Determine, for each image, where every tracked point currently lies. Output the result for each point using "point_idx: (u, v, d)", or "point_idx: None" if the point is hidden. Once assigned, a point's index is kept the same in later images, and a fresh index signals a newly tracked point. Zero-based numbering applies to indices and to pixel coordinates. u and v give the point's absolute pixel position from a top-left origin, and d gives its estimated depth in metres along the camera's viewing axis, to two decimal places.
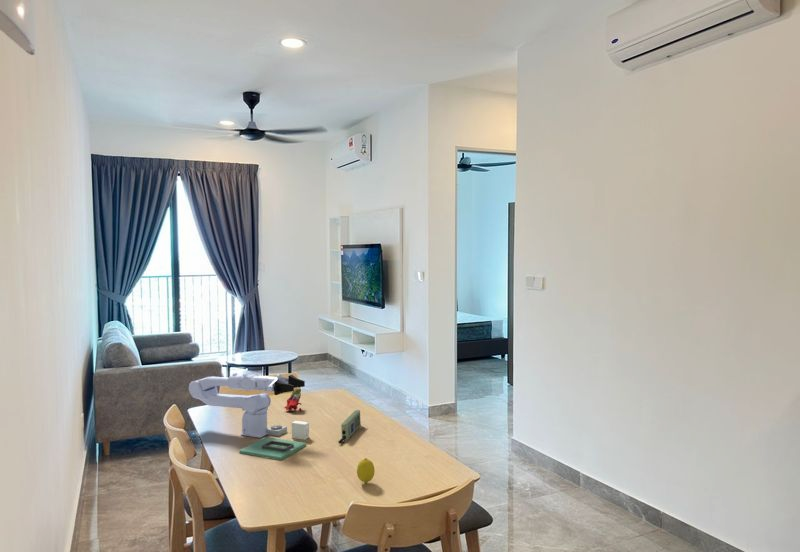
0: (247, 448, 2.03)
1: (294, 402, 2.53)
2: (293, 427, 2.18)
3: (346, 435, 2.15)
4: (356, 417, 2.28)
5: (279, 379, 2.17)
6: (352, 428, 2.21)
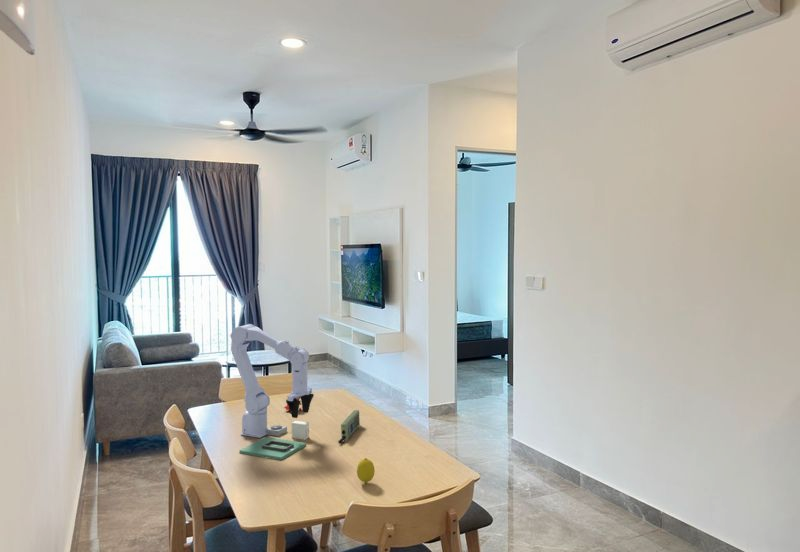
0: (247, 448, 2.03)
1: None
2: (293, 427, 2.18)
3: (346, 435, 2.15)
4: (355, 417, 2.28)
5: (303, 394, 2.16)
6: (351, 428, 2.21)
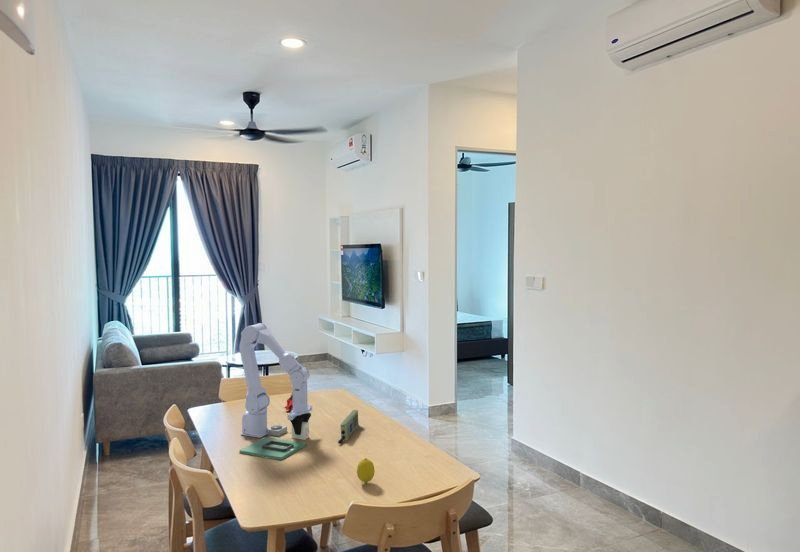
0: (247, 448, 2.03)
1: None
2: None
3: (345, 435, 2.15)
4: (354, 417, 2.28)
5: None
6: (351, 428, 2.21)
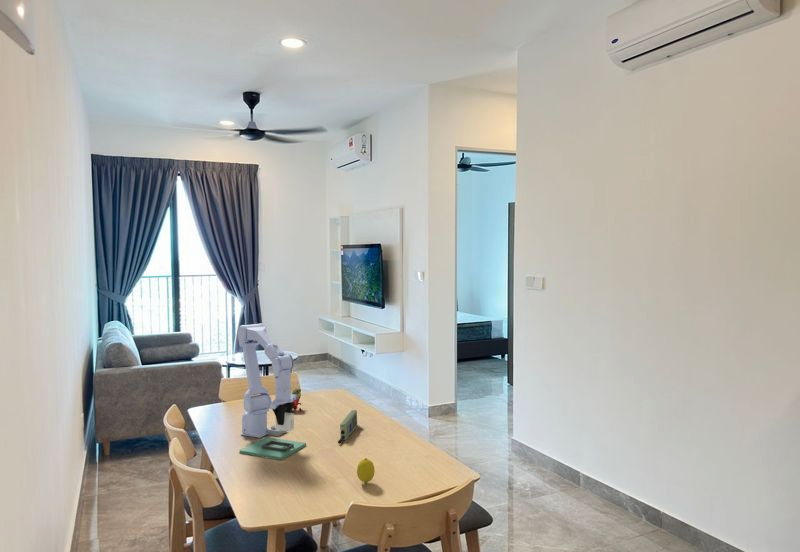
0: (247, 448, 2.03)
1: (294, 402, 2.53)
2: None
3: (345, 435, 2.15)
4: (353, 417, 2.28)
5: None
6: (350, 428, 2.21)
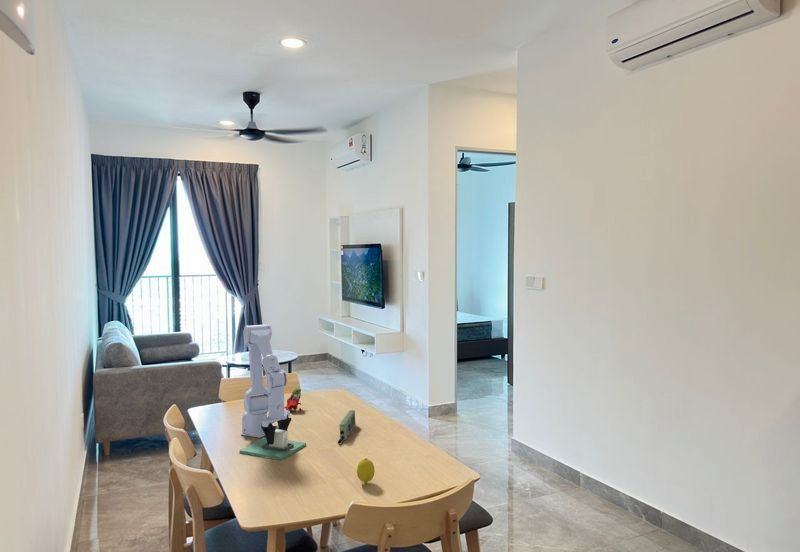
0: (247, 448, 2.03)
1: (294, 402, 2.53)
2: None
3: (344, 435, 2.15)
4: (352, 417, 2.28)
5: None
6: (349, 428, 2.21)
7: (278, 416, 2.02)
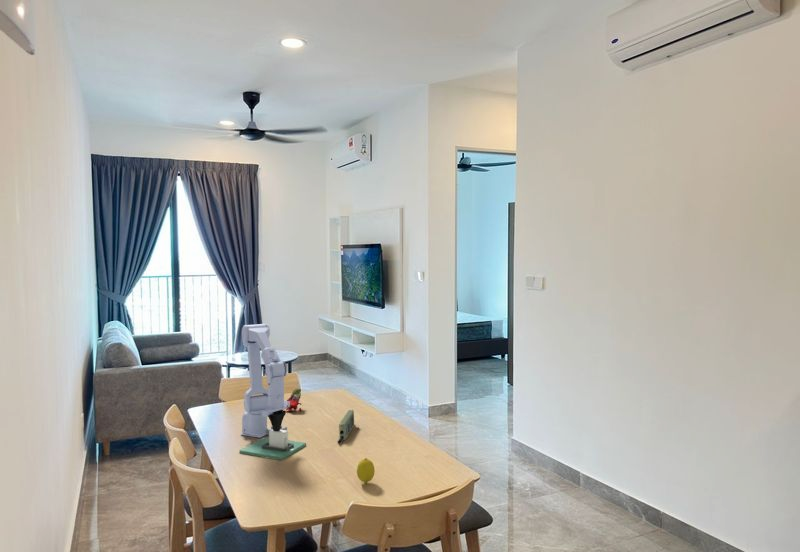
0: (247, 448, 2.03)
1: (294, 402, 2.53)
2: (271, 436, 2.04)
3: (344, 435, 2.15)
4: (351, 417, 2.28)
5: None
6: (348, 428, 2.21)
7: (278, 406, 2.02)
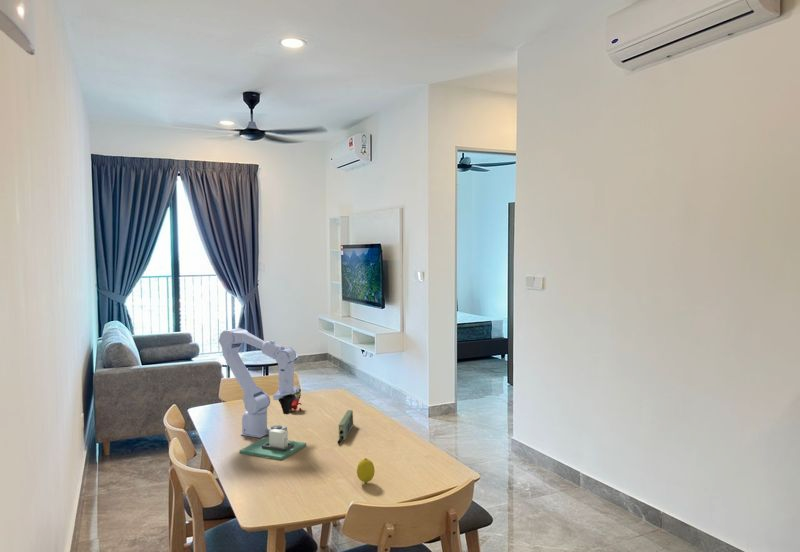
0: (247, 448, 2.03)
1: (294, 402, 2.53)
2: (271, 436, 2.04)
3: (343, 435, 2.15)
4: (350, 417, 2.28)
5: (290, 393, 2.16)
6: (348, 428, 2.21)
7: (288, 390, 2.15)
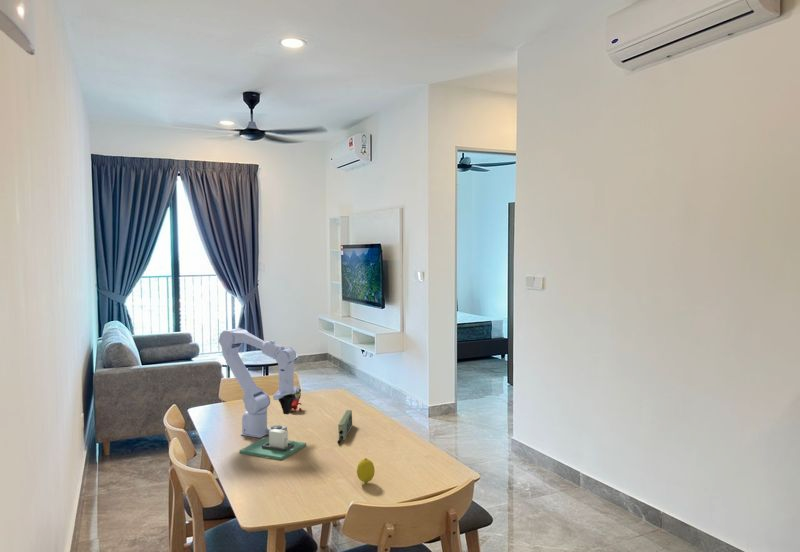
0: (247, 448, 2.03)
1: (294, 402, 2.53)
2: (271, 436, 2.04)
3: (343, 435, 2.15)
4: (349, 417, 2.28)
5: (290, 393, 2.16)
6: (347, 428, 2.21)
7: (288, 390, 2.15)
